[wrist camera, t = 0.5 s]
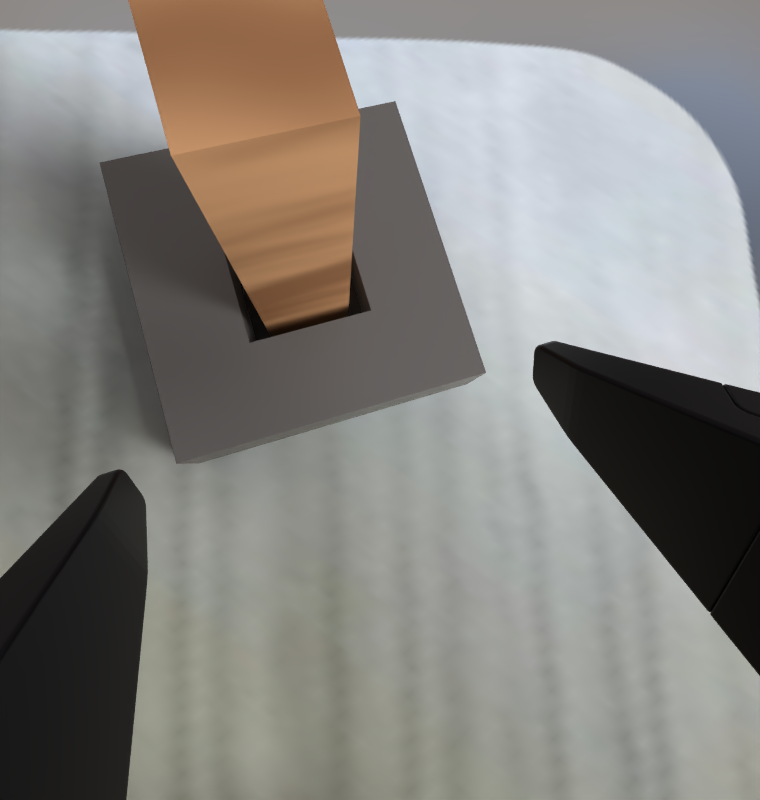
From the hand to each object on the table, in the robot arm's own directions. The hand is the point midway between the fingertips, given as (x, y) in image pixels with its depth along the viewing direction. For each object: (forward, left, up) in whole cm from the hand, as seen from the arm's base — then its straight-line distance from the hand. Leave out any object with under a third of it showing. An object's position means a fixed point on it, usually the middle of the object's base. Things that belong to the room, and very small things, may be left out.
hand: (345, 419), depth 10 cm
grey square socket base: (+7, -4, -13) cm, 15 cm away
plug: (+7, -5, -13) cm, 15 cm away
